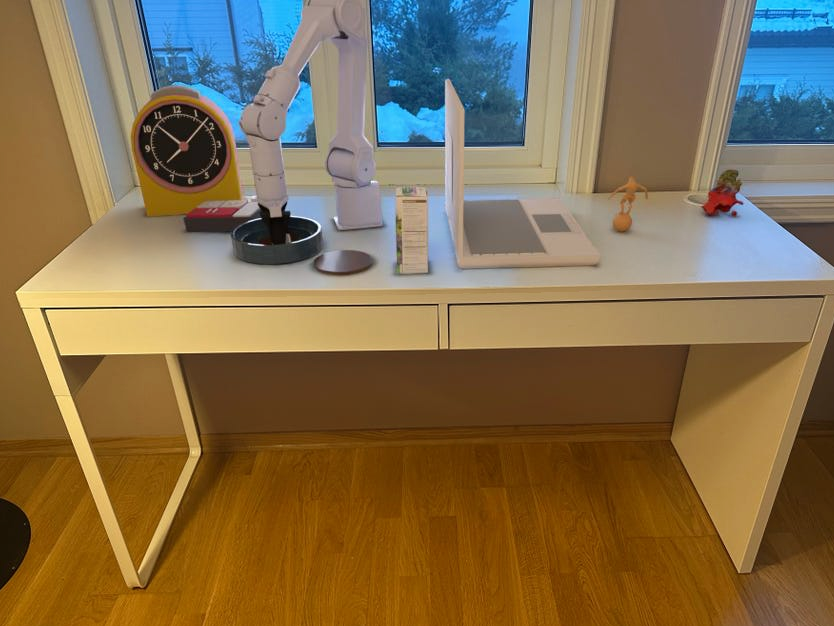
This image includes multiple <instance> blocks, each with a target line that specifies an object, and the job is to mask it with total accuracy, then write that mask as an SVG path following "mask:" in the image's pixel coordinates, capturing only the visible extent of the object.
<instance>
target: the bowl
mask: <svg viewBox="0 0 834 626" xmlns="http://www.w3.org/2000/svg"><path fill="white" fill-rule="evenodd" d="M291 232H296V235H297V241H294V242H291V243H285V244H275V245H260V244H259V239H262V238H266V237H270V234H269V231H268V229H267V227H266V225H265V223H264V222H263V220H262V219H261V218H259V219H255V220H251V221H247V222H245V223H242V224H240V225H238V226H237V227H235V228H234V229H233V230H232V231H230V239H231V244H232V251H233V255H234V256H235V257H236V258H237V259H239V260H241V261H243V262H248V263H252V264H260V265H261V264H262V265H280V264H287V263H293V262H298V261H303V260H305V259H308V258H311V257H313V256H315V255H316V254H318V253H319V252H320V251H321V250H322V249H323V247H324V238H323V228H322V226H321V224H320V223H319V222H318V221H317V220H314V219H312V218H308V217H304V216H299V215H298V216H297V215H296V216H295V215H290V218H289V221H288V224H287V229H286V233H291Z"/></svg>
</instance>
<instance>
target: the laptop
mask: <svg viewBox="0 0 834 626" xmlns="http://www.w3.org/2000/svg"><path fill="white" fill-rule="evenodd" d="M444 83H445V84H444V135H445V138H444V140H445V141H444V143H445V145H444V151H445V153H444V154H445V155H444V159H445V160H444V161H445V162H444V163H445V168H444V170H445V171H444V172H445V173H444V175H445V179H444V180H445V183H444V185H445V188H444V189H445V191H444V192H445V193H444V194H445V195H444V197H445V204H444V207H445V213H446V216H447V222H448V226H449V232H450V235H451V240H452V246H453V251H454V254H455V255H454V256H455V259H456V264H457V267H458V268H459V269H461V270H479V269H481V270H482V269H511V268H513V269H514V268H549V267H550V268H551V267H552V268H554V267H556V268H557V267H586V266H589V267H590V266H591V267H592V266H594V265H597V264H599V263H600V258H601V254H600V253H599V251H598V249H597V248H596V247H595V245H594V244H593V242H591V240H590V239H589V237H588V236H587V234H586V233H585V231H584V230H583V229H582V227H581V226H580V225H579V223H578V221H577V220H576V219H575V218H574V216H573V214H572V213H571V212H570V210H569V209H568V208H567V206H566V205H565V203H564V201H562V199H561V198H510V199H509V198H505V199H504V198H503V199H502V198H501V199H464V191H465V190H464V188H465V187H464V186H465V185H464V182H465V181H464V179H465V177H464V176H465V107H464V105H463V103H462V101H461V100H460V98H459V95H458V93H457V91H456V89H455V88H454V85H453V83H452V81H451V79H450V78H446V79H445V80H444Z"/></svg>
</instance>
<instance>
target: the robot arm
mask: <svg viewBox="0 0 834 626" xmlns="http://www.w3.org/2000/svg"><path fill="white" fill-rule="evenodd" d="M300 15H301V21H300V23H299V25H298V28H297V30H296V31H295V34H294V35H293V38H292V41H291V43H290V45H289V47H288V49H287V51H286V54H285V56H284V59H283V60H282V63H281V64H280V65H275V66H272V67H271V68H270V69H267V71H266V73H265V74H264V77H265V80H264V82H263V83H262V85H261V87H260V89H259V90H258V92H257V94H256V95H254V97H253V102H252V103H249V104H248V105H246V106H245V107H244V108H243V110H242V112H241V114H240V120H239V121H238V126H239V128H240V130H241V132H242V133H243V134H244V135H245V136H246V143H247V144H248V148H249V154H250V161H251V168H252V174H253V181H254V186H255V195H250V196H249V197H250V201H251V202H258V206H259V208H260V209H261V211H262V212H259V213H260V217H261V219H262V220H263V222H264V223H265V225H266V227H267V229H268V231H269V234H270V238H271V241H272V244H273V245H275V244H285V243H286V229H287V224H288V221H289V218H290V216H292V215H291V214H292V213H291V210H286V208H287V206H288V201H289V200H290V196H289V193H288V188H287V180H286V172H285V164H284V155H283V149H282V148H283V147H282V139H281V137H282V135H283V134H284V133H285V132H286V128H287V116H288V110H289V109H290V107H291V105H292V103H293V101H294V99H295V98H296V96H297V94H298V92H299V90H300V88H301V82H300V81H301V80H300V74H301V73H302V71H303V70H304V68H305V67H306V65H307V64H308V62H309V60H310V59H311V58H312V56H313V54H314V52H315V51H316V50H317V48H318V46H319V45H320V43H321V42H323V41H327V40H330V42H331V43H332V44H333V45H334V46H335V48H336V49H337V50H338V63H337V64H338V66H337V67H338V69H337V111H336V113H337V114H336V115H337V117H336V134H335V135H334V136H333V137H332V138H331V139H330V140H329V141H328V150H327V154H326V157H325V160H324V167H325V171H326V173H327V174H328V175H329V176H330V177H331V180H332V182H333V183H334V195H335V205H336V206H335V207H336V216H334V217H333V221H334V223H335V225H336V228H337V229H338V230H339V231H349V230H356V229H368V228H369V229H370V228H378V227H383V226H384V225H383V217H382V215H383V213H382V197H381V189H380V185H379V182H378V181H377V180H374V177H375V175H376V171H377V166H376V165H377V164H376V160H375V157H374V147H373V145H372V144H371V142H370V141H369V140H368V139H367V138H366V137H365V118H366V117H365V116H366V89H367V65H368V64H367V62H368V38H367V32H366V8H364V6H363V5H362V3H361V2H360V1H359V0H306V2H305V5H304V6H303V7H302V9H301V11H300Z"/></svg>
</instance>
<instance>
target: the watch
mask: <svg viewBox="0 0 834 626" xmlns="http://www.w3.org/2000/svg"><path fill="white" fill-rule="evenodd" d="M294 241H297V235H296V232H291V233H286V243H291V242H294ZM259 244H260V245H273V244H272V241H271V238H270V237H266V238H262V239H259Z"/></svg>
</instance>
